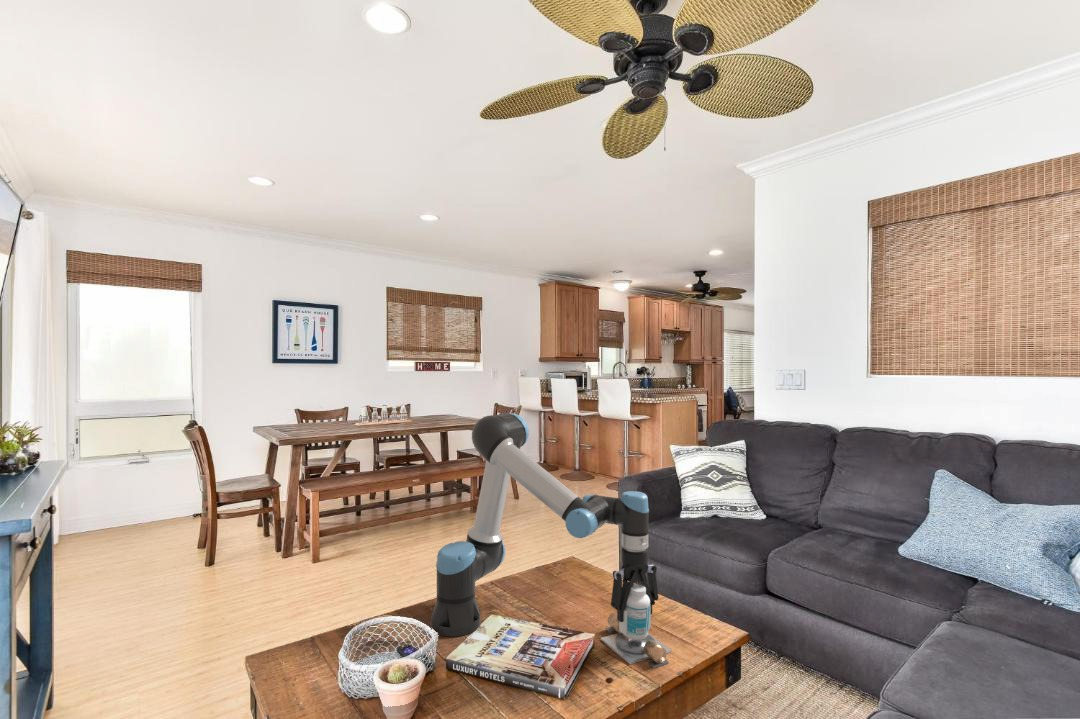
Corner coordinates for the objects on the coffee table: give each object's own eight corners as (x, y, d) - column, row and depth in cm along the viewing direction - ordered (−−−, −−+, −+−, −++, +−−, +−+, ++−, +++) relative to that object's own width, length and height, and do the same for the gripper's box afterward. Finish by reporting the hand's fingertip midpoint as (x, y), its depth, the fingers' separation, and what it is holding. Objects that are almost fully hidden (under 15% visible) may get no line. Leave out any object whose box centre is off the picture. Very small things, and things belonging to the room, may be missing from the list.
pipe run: (593, 633, 154) (593, 617, 154) (631, 623, 160) (631, 608, 160) (639, 672, 134) (639, 654, 134) (681, 659, 140) (681, 642, 140)
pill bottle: (630, 623, 152) (633, 578, 152) (653, 634, 147) (656, 587, 147) (616, 633, 147) (619, 586, 146) (638, 644, 142) (642, 596, 141)
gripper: (612, 557, 140) (612, 643, 139) (671, 546, 149) (672, 627, 148) (597, 549, 146) (597, 631, 146) (655, 538, 155) (655, 616, 155)
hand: (635, 629), depth 147 cm, fingers closed on pill bottle, 7 cm apart
